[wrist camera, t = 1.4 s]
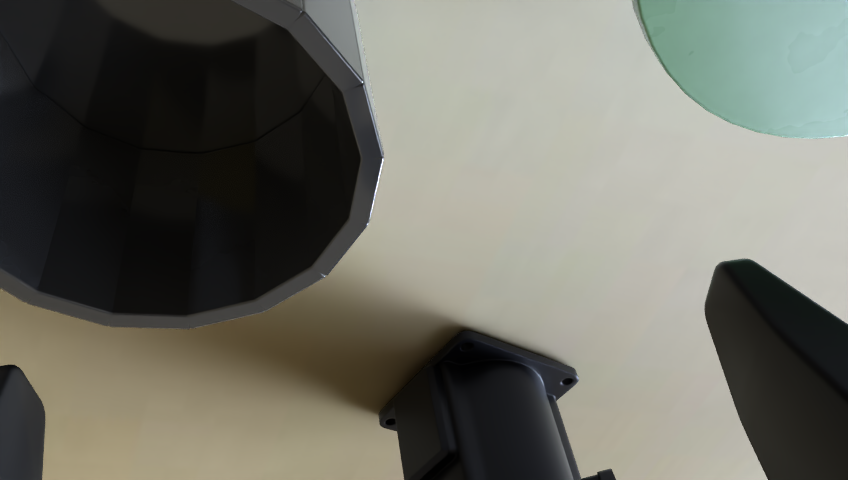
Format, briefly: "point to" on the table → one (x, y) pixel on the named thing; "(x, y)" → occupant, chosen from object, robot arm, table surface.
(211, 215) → the cup
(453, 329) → the table surface
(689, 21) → the lid
